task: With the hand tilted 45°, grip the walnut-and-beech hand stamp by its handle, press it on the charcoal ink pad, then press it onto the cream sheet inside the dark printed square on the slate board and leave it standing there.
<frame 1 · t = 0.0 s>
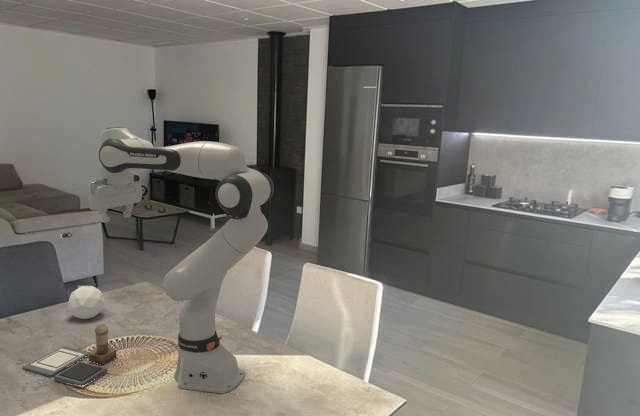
hand: (117, 219, 153), 48 cm above the table, tool pointing down, fingers open, 8 cm apart
hand stamp: (102, 359, 158), on the table
geodesic sphere: (87, 317, 190), on the table
ink pad: (81, 376, 147), on the table
document board: (58, 361, 155), on the table
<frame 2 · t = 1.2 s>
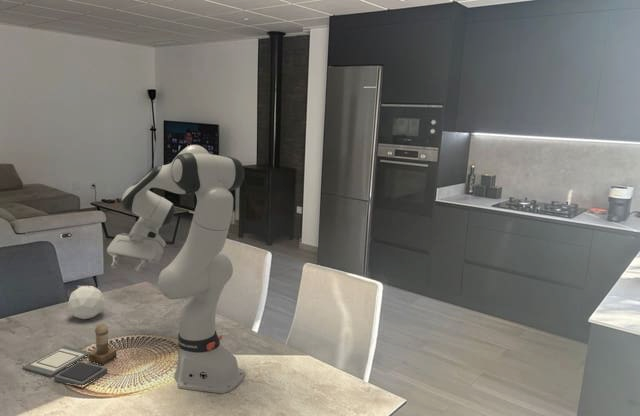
hand: (124, 269, 164), 28 cm above the table, tool tilted 45°, fingers open, 8 cm apart
nothing on the table moved.
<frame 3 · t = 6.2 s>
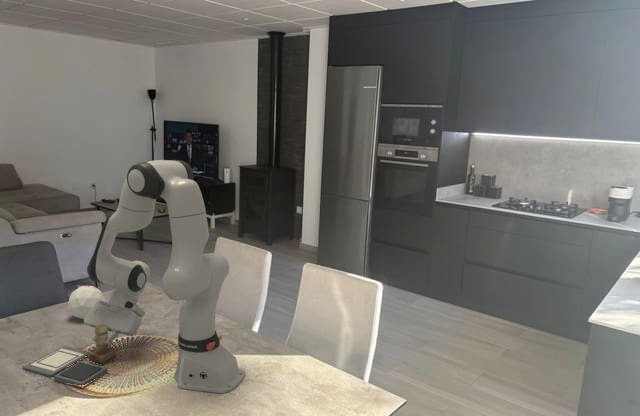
hand: (100, 342, 156), 6 cm above the table, tool tilted 45°, fingers closed on hand stamp, 4 cm apart
hand stamp: (102, 359, 158), on the table, touching gripper
everything else where it was.
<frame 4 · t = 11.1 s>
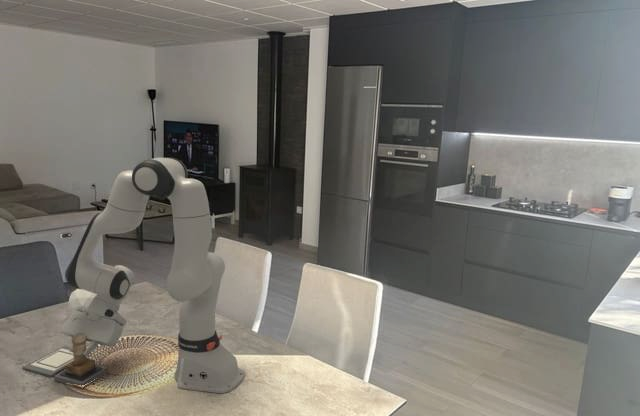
hand: (78, 353, 145), 8 cm above the table, tool tilted 45°, fingers closed on hand stamp, 4 cm apart
hand stamp: (80, 371, 147), point 2 cm above the table, touching gripper, ink pad
everything else where it was.
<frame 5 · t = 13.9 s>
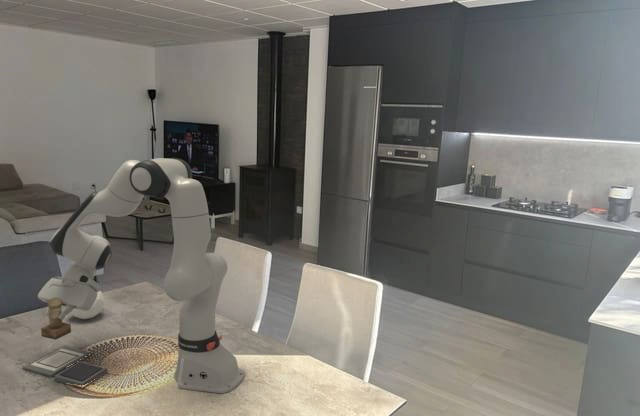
hand: (53, 317, 152), 16 cm above the table, tool tilted 45°, fingers closed on hand stamp, 4 cm apart
hand stamp: (56, 334, 154), point 10 cm above the table, touching gripper
everything else where it was.
when the fingers open (7 cm above the table, at t = 16.1 s): hand stamp stays where it is, resting on document board.
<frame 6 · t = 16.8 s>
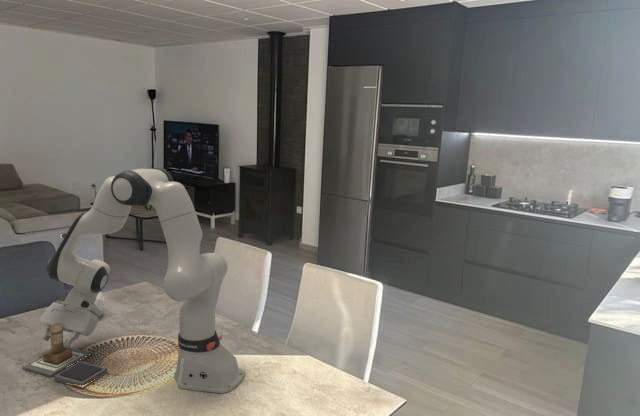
hand: (55, 342, 154), 7 cm above the table, tool tilted 45°, fingers open, 8 cm apart
hand stamp: (58, 359, 155), point 1 cm above the table, touching document board
everything else where it was.
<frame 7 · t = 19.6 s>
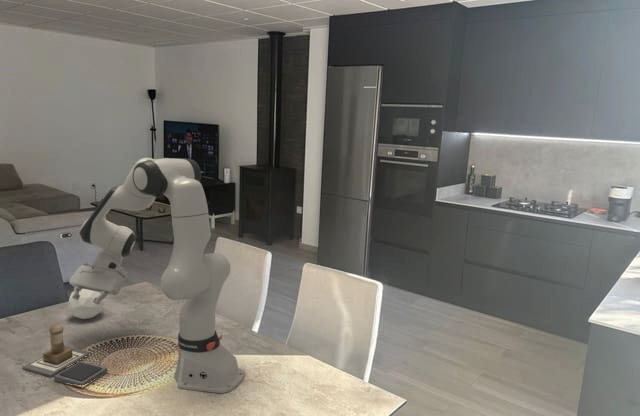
hand: (85, 301, 164), 17 cm above the table, tool tilted 45°, fingers open, 8 cm apart
nothing on the table moved.
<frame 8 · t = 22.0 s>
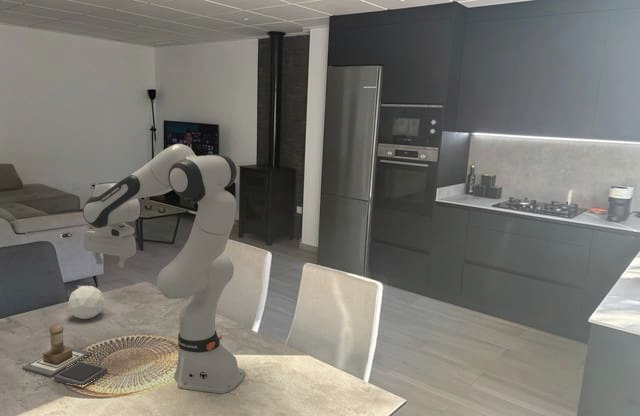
hand: (109, 265, 165), 29 cm above the table, tool pointing down, fingers open, 8 cm apart
nothing on the table moved.
at the end: hand stamp 0.1 cm off-centre on the document board, point 0.9 cm above the document board's base; hand stamp tilted 0°; the gripper is holding nothing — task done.
